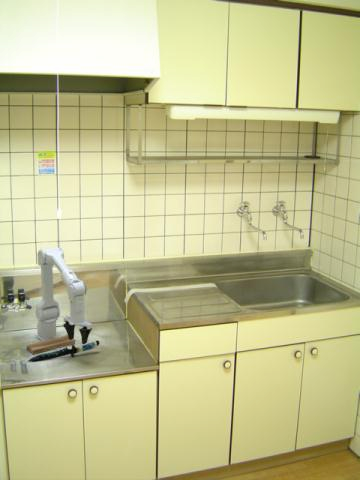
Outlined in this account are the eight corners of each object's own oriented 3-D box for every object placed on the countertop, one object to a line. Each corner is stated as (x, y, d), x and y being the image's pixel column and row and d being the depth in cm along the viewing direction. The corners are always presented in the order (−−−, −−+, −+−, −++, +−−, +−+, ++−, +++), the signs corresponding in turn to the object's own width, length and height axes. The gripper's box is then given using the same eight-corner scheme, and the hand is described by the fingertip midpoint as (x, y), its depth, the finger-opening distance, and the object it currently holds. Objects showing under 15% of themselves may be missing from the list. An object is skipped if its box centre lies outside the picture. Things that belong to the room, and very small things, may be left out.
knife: (99, 348, 237) (98, 339, 236) (101, 351, 234) (100, 341, 233) (28, 364, 227) (27, 354, 226) (29, 367, 224) (27, 357, 223)
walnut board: (26, 349, 236) (26, 344, 236) (67, 338, 249) (67, 334, 248) (33, 354, 231) (33, 350, 231) (75, 343, 244) (75, 339, 243)
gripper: (57, 309, 223) (58, 340, 226) (83, 316, 215) (83, 348, 218) (70, 305, 229) (70, 335, 232) (95, 312, 221) (95, 343, 224)
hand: (77, 341), depth 225 cm, fingers open, 7 cm apart
